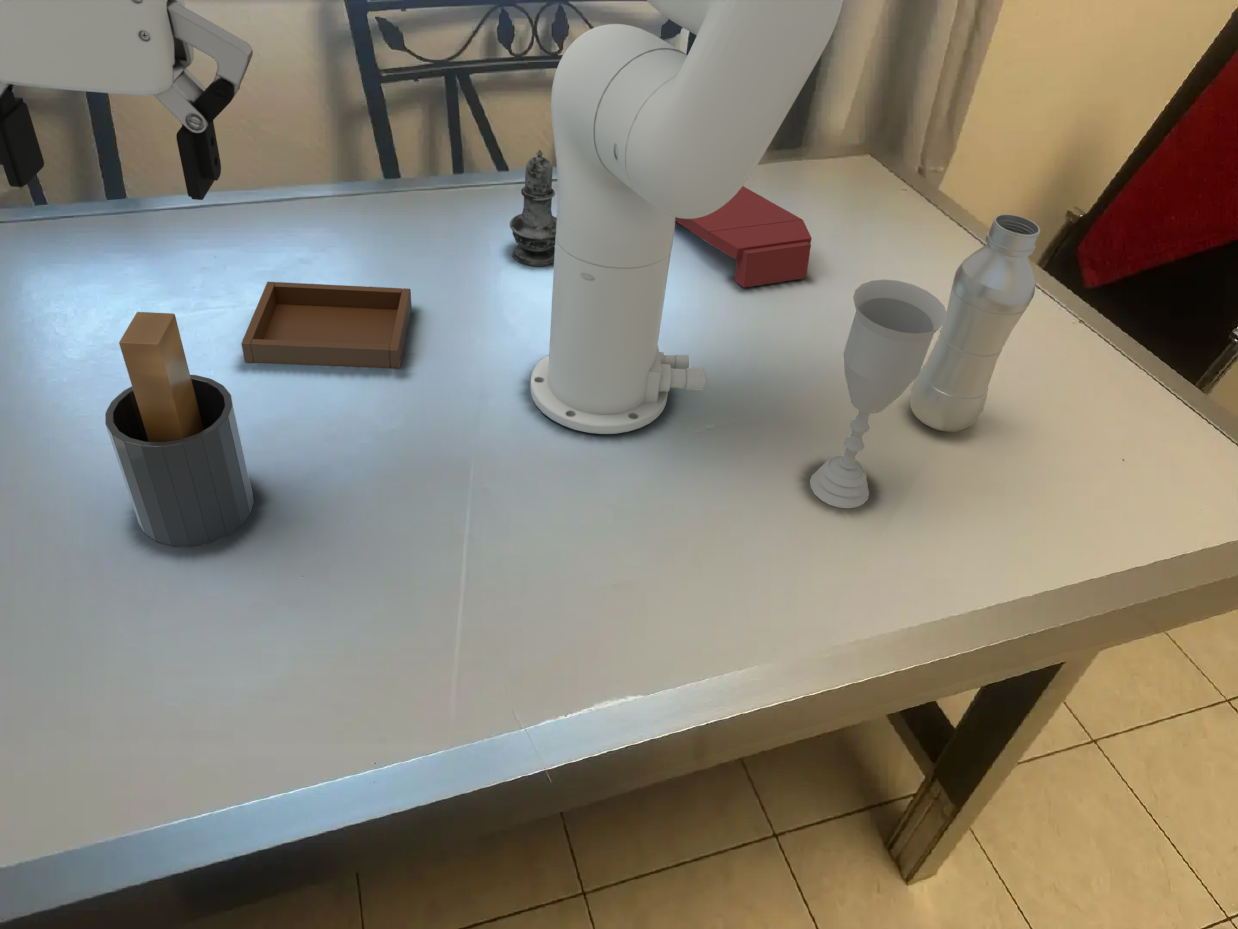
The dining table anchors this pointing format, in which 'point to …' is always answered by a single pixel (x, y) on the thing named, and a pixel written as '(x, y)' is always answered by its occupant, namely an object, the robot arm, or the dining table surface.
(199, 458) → the cup
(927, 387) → the plastic bottle
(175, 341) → the wooden block
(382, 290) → the tray
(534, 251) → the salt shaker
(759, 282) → the red chamfered block
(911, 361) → the chalice
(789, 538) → the dining table surface
